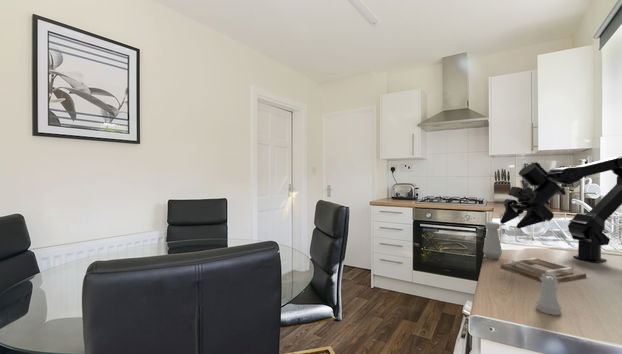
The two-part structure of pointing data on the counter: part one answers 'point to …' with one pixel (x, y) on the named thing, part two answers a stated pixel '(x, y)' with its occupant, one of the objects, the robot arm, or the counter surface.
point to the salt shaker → (492, 241)
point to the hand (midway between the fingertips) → (508, 225)
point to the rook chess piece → (549, 296)
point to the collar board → (542, 269)
